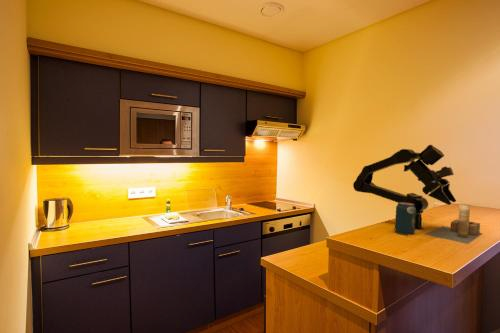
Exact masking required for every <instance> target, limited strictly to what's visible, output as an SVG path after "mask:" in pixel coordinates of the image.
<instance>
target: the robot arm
mask: <svg viewBox="0 0 500 333" xmlns="http://www.w3.org/2000/svg"><path fill="white" fill-rule="evenodd" d="M444 157H445V154H444V153H443V151H441V150H440V149H439V148H437V147H435V146H434V145H433V144H429V145H427V146H426V147H425V148H424V149H423V150H422V151H420V152H415V151H414V150H413V149H409V148H407V149H406V148H401V149H399V150H398V151H396V152H395V153H393V154H392V155H390V156H389V157H387V158H384V159H382V160H378V161H376V162H374V163H371V164H369V165H368V164H367V165H364V166H363V168H362V169H361V172H360V173H359V174H357V175H358V176H357V177H356V179H355V181H354V182H353V185H352V187H353V190H354V191H355V192H359V193H367V194H373V195H375V196H378V197H381V198H384V199H387V200H389V201H393V202H396V203H398V202H407V203H413V204H414V206H415V208H416V216H415V230H424V227H422V223H423V222H422V221H423V217H422V214H423V213H424V211H425V210H427V209H428V207H429V202H428V200H427V198H425V197H423V195H419V194H416V193H414V192H410V193H406V194H403V193H400V192H397V191H394V190H391V189H387V188H384V187H381V186H379V185H376V184H375V183H374V182H373V176H374V173H375V172H379V171H382V170H384V169H388V168H389V167H392V166H396V165H400V164H401V165H403V164H404V165H403V172H408V171H410V172H411V173H412V174H414V176H415V177H417V181H419V182H421V183H422V184H423V185H424V186H423V187H422V192H423V194H424V195H426V196H428V197H431V198H433V199H435V200H438V201H440V202H441V203H444V204H445V205H448V206H450V205H452V203H456V202H457V200H456V198H455V196H454V195H453V193H452V192H451V189H450V186H451V184H450V181H449V180H448V179H447V177H451V176H454V175H455V173H454V172H453V169H452V167H451V166H449V167H448V166H444V167H443V166H442V167H441V169H439V170H436V171H435V170H433V169H431V168H429V167H428V166H429V165H430V166H433V165H435V164H436V163H437V162H438V161H440V160H441V159H442V158H444Z"/></svg>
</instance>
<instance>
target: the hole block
mask: <svg viewBox="0 0 500 333" xmlns="http://www.w3.org/2000/svg"><path fill="white" fill-rule="evenodd" d="M458 222H459V218H456V219H454V220H452V221H451V222H450V227H451V229H450V232H455V233H458ZM480 230H481V223H479V222H475V221H470V220H469V229H468V235H470V236H476V235H477V234H479V233H481V232H480Z"/></svg>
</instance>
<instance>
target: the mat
mask: <svg viewBox="0 0 500 333" xmlns="http://www.w3.org/2000/svg"><path fill="white" fill-rule="evenodd" d="M450 229H451V226H445V225H442V226H440V227H439V226H438V227H437V228H434V229H433V230H431V231H428V232H426V233H425V234H424V235H425V236H429V237H434V238H439V239H442V240H443V239H444V240H446V241H447V240H448V241H452V242H458V243H461V244H467V245H469V244H471V242H473V241H474V240H476V239H477V238H479V237H480V236H481V235H483V233H481V232H480V233H479V234H477V235H476V236H470V235H468V238H461V237H458V233H455V232H450Z"/></svg>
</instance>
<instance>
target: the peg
mask: <svg viewBox="0 0 500 333" xmlns="http://www.w3.org/2000/svg"><path fill="white" fill-rule="evenodd" d="M470 212H471V205H470V204H466V203H459V213H458V220H459V222H458V237H461V238H468V229H469V221H470V214H471V213H470Z"/></svg>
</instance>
